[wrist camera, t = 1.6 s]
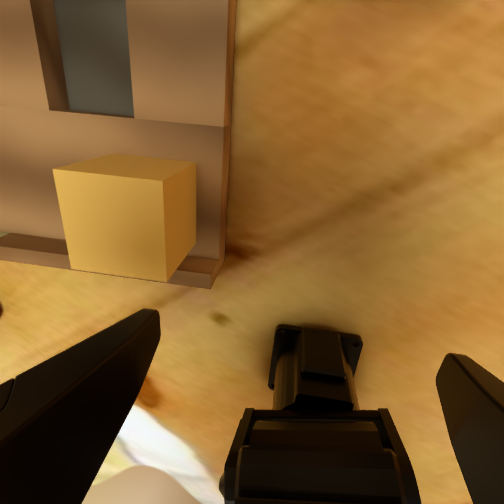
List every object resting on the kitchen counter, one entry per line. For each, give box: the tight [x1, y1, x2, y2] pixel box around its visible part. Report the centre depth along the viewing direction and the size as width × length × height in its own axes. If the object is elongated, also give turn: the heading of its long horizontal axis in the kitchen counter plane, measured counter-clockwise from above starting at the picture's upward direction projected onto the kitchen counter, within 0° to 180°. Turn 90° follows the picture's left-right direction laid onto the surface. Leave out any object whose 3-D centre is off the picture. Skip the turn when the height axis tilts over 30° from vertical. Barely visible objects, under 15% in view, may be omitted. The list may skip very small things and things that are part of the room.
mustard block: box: [53, 153, 196, 282], centre depth 17 cm, size 5×5×5 cm
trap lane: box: [0, 0, 236, 289], centre depth 18 cm, size 16×22×4 cm
